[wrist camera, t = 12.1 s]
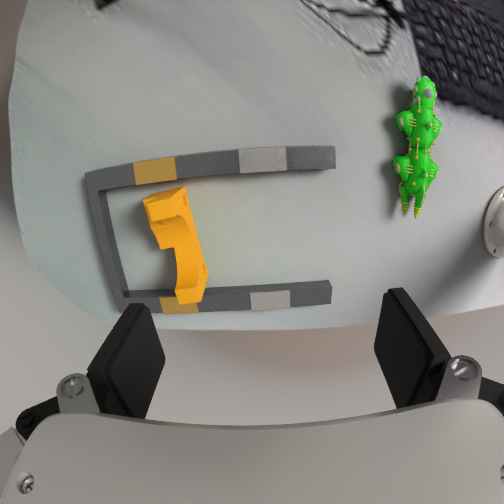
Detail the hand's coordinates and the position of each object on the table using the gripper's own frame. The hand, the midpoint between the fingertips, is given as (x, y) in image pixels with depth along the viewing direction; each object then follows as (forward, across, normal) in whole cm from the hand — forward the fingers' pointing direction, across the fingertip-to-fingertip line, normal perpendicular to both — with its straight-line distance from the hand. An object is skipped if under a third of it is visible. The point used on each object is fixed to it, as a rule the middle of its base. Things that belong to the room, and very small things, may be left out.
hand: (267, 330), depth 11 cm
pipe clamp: (+25, +11, +4) cm, 27 cm away
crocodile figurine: (+26, -19, -6) cm, 33 cm away
